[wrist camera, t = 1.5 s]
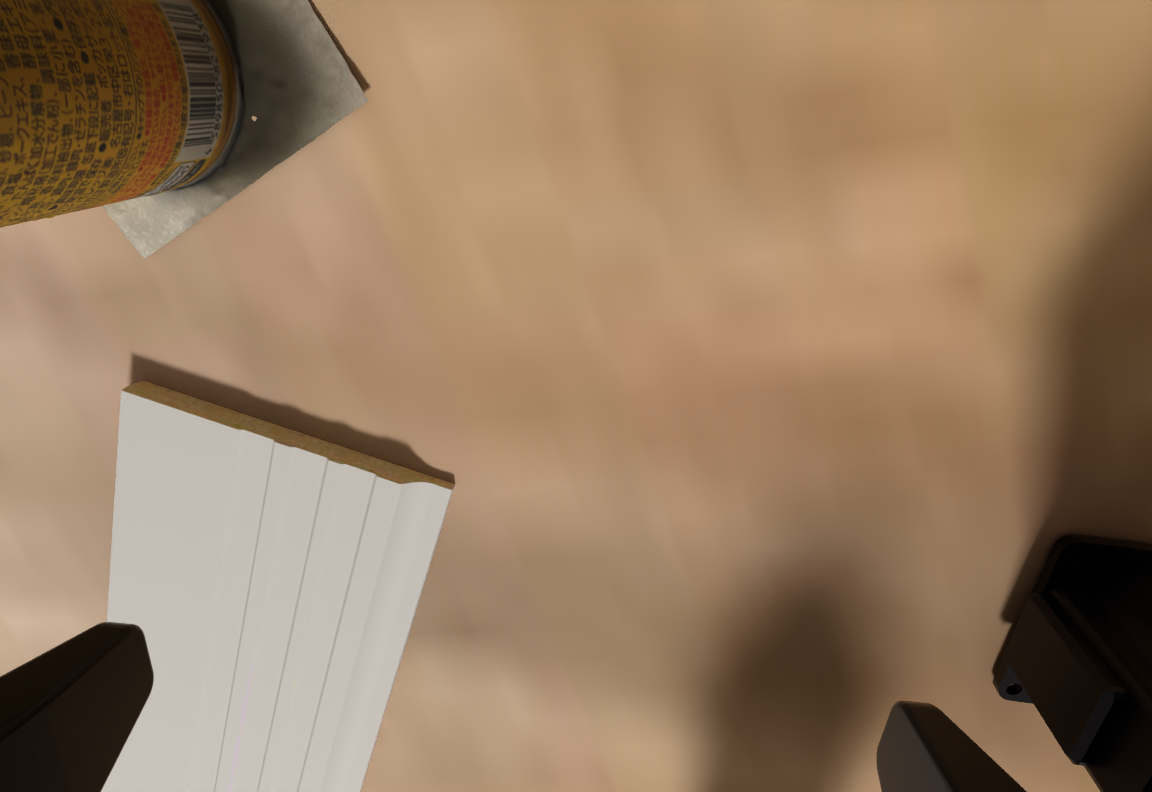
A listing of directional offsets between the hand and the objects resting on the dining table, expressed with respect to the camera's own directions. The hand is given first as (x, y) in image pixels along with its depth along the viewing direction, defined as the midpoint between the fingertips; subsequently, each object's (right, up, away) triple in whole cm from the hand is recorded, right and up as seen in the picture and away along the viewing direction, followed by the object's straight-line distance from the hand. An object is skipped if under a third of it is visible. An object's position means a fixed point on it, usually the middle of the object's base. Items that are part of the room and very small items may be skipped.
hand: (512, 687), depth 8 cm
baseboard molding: (-12, -11, +21) cm, 27 cm away
